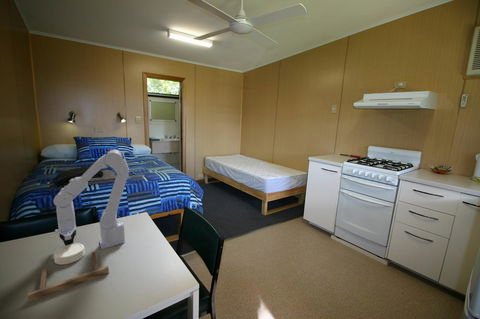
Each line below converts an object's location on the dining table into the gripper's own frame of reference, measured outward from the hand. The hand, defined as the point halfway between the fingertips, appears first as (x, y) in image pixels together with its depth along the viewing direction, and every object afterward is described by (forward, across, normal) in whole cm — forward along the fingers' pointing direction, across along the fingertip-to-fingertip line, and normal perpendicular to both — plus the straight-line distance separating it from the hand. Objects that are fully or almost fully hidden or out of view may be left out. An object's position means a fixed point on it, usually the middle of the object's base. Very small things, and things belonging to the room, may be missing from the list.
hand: (69, 247), depth 93 cm
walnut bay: (+1, +18, 0) cm, 18 cm away
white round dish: (+2, +6, 0) cm, 6 cm away
